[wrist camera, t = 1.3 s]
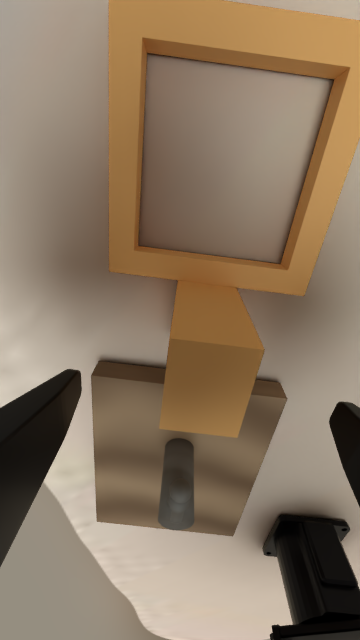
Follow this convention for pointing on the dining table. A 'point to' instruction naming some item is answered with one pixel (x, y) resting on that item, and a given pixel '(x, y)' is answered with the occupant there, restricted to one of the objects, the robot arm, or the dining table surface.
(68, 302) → the dining table surface
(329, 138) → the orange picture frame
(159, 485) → the hook plate
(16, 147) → the dining table surface
